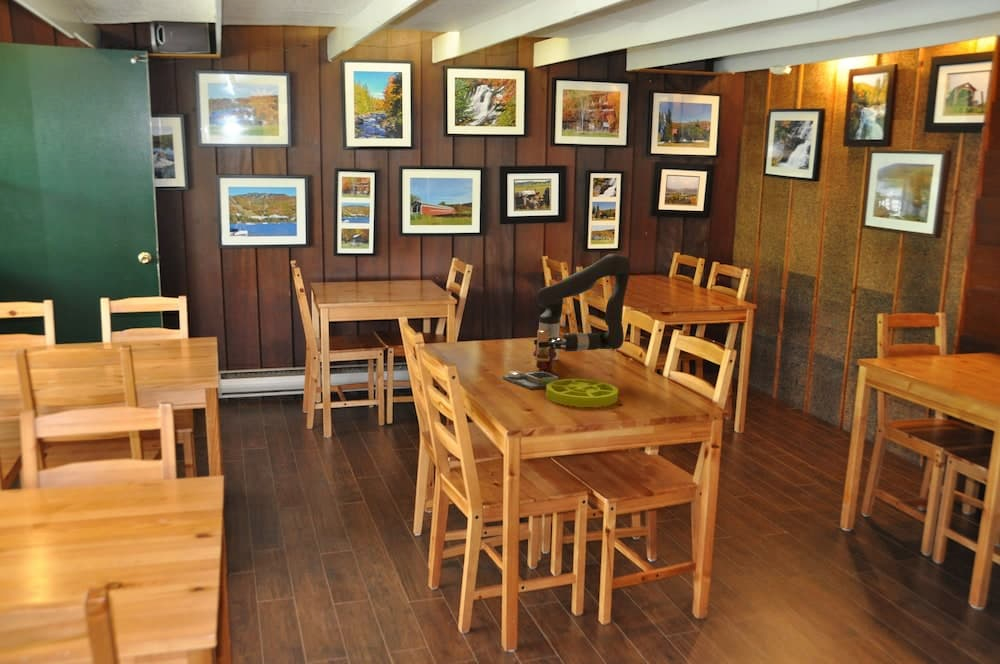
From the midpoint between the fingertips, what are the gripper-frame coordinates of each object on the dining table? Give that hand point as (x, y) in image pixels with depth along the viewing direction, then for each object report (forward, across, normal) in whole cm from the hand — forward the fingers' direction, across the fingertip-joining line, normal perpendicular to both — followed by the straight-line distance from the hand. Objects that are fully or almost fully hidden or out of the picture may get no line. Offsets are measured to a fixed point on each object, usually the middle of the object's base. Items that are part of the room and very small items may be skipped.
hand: (536, 343), depth 363 cm
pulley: (-11, +23, +18) cm, 31 cm away
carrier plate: (0, -2, +17) cm, 17 cm away
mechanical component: (-11, -20, +17) cm, 28 cm away
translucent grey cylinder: (-3, 0, +7) cm, 7 cm away
